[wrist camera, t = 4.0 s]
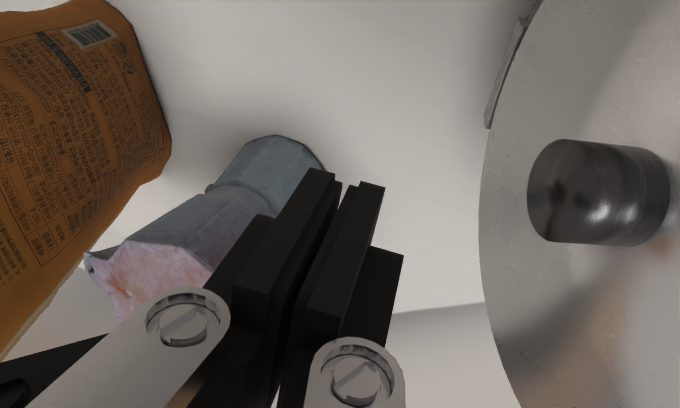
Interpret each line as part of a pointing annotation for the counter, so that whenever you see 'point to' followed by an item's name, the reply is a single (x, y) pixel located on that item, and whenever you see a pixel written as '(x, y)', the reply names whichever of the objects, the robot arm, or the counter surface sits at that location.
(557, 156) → the lid
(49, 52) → the pancake mix bag
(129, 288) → the moka pot
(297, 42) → the counter surface
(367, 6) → the counter surface
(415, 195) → the counter surface
